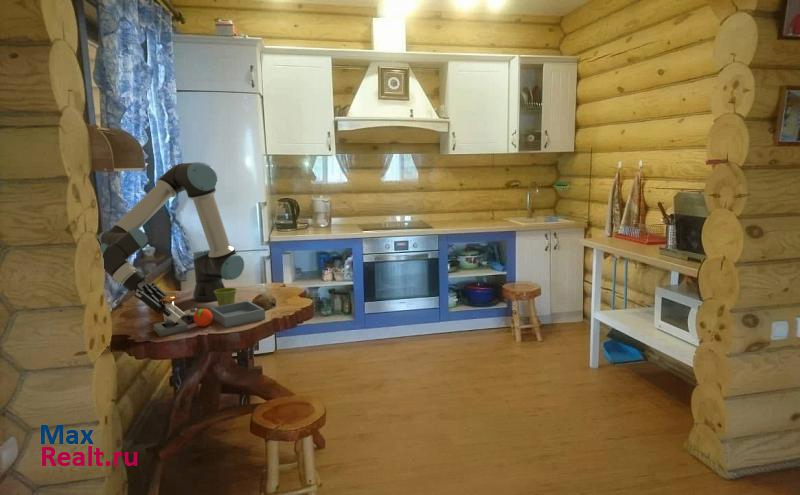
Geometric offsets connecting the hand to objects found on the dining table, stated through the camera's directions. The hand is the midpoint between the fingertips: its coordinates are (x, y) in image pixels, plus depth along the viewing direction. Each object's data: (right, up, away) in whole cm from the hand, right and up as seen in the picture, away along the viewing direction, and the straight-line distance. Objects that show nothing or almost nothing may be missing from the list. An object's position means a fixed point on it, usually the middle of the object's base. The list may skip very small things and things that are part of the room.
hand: (180, 318), depth 184 cm
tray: (+17, -2, +14) cm, 22 cm away
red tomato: (+7, -4, +4) cm, 9 cm away
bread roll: (+24, 0, +29) cm, 38 cm away
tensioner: (-2, -4, +7) cm, 8 cm away
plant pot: (+8, 0, +27) cm, 28 cm away
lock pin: (-4, -5, +1) cm, 6 cm away
